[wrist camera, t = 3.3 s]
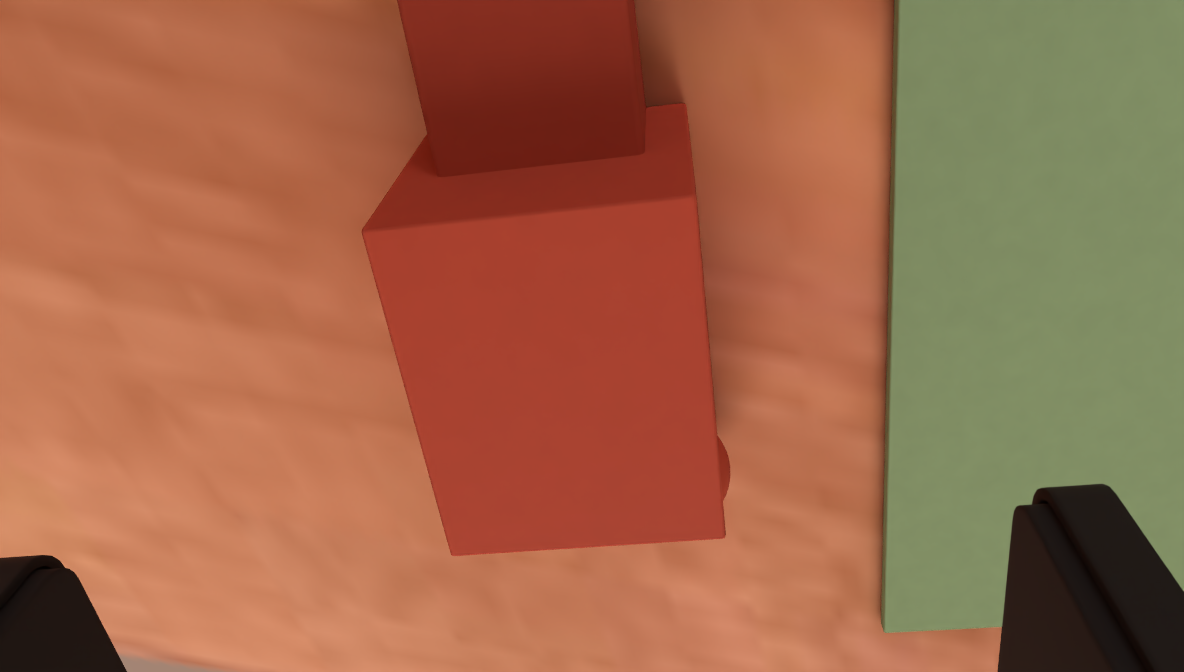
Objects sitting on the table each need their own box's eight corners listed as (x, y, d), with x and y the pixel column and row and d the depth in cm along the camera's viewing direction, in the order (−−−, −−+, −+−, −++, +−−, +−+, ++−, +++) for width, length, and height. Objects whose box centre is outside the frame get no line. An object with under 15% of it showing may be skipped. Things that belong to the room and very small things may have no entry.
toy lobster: (372, -46, 13) (278, 6, 10) (683, -89, 13) (694, -51, 9) (497, 493, 18) (463, 649, 15) (729, 476, 17) (747, 634, 14)
